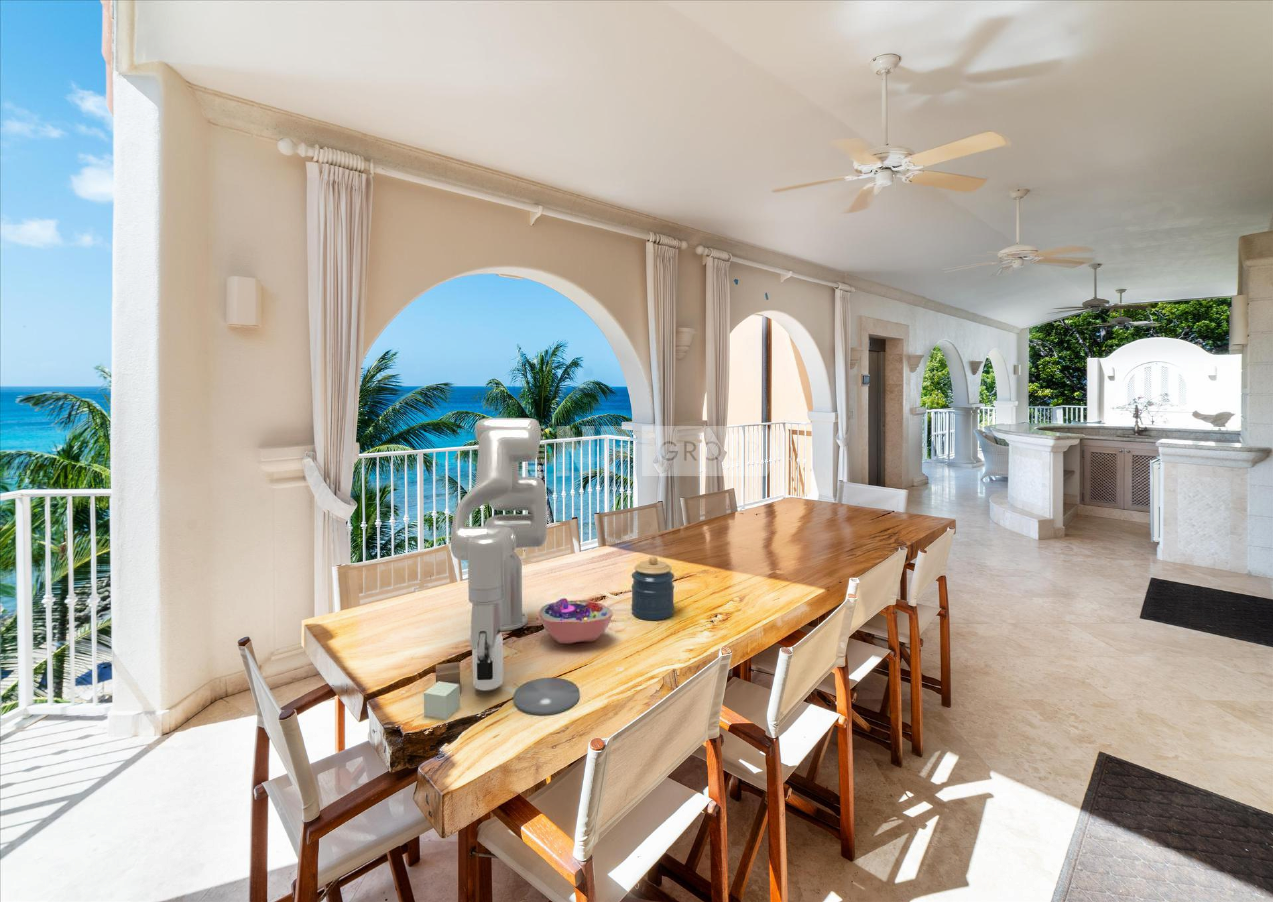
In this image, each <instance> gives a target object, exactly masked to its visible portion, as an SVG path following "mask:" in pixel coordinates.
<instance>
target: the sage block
mask: <svg viewBox="0 0 1273 902" xmlns="http://www.w3.org/2000/svg"><path fill="white" fill-rule="evenodd" d="M460 694H461V686H460V687H459V684H453V683H447V682H440V681H438V682H437V683H436V682H435V684H433V685H432V686H430V687H429V688H428V689H427V690H426V691H424V692H423V716H424V717H426V716H427V718H432V717H435V718H434V719H437V720H438V719H440V720H444V721H446V720H447V719H448V718H450V717H451V716H452V715H453V714H454V713H455V712H456V711H458V709H460V708H461V701H460V698H461V695H460Z"/></svg>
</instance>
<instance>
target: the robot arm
mask: <svg viewBox="0 0 1273 902" xmlns="http://www.w3.org/2000/svg"><path fill="white" fill-rule="evenodd" d="M474 435H475V438H476V440H477V442H478V448H477V449H478V451H477V461H476V462H477V463H476V464H477V465H476V473H475V474H476V478H475V485H474V486H473V487H472V488H471V489H470V490H469V491H467V493H466V494H465V495H464V496H463V497H462V499H461V500H460V501H459V502H458V504H457V505H456V508H455V511H454V513H453V516H452V517H453V518H452V524H451V534H450V551H451V554H452V556H453V557H454V558H455V559H456V560H460V561H467V583H468V588H467V589H468V591H467V592H468V593H467V594H468V602H469V603H470V604H472V605H471V613H470V614H471V615H470V618H471V619H470V649H471V651H472V650H474V649H476V647H477V645H478V653H477V679H478V680H491V679H492V678H493V661H491V651H492V648H493V647H494V646H495V642H496V637H497V634H498V631H499V629H500V632H505V631H507V632H508V631H513V630H518V629H520V628H522V627H524V626H526V624H528V622H529V617H528V615H527V614H525V613H524V612H523V570H522V569H523V564H522V560H521V557H520V556H519V555H518V553H517V552H516V551H515V550H516V549H524V548H525V549H526V548H531V549H532V548H539V547H542V546H544V545H545V543H546V541H547V534H548V533H547V532H548V528H547V525H548V524H547V523H548V522H547V491H546V485H545V482H544V480H542V478H540V477H535V476H520V473H519V472H520V470H519V469H520V467H519V466H520V465H519V463H521V462H522V463H524V462H527V463H529V462H533V461H535V460H536V459H537V457H538V454H539V451H540V443H541V437H542V430H541V426H540V423H539V421H538V420H537V419H536V418H528V417H488V418H483V419H482V418H481V419H480V420H478V421H477V422H476V423H475V425H474ZM488 503H489V506H490V507H491V508H492V509H493V510H496V511H502V512H503V511H528V513H527V514H525V513H523V514H517V513H515V514H514V513H513V514H510V513H509V514H496V515H492V516H490V517H489V518H487V519H486V521H485V522H484V526H466V525H467V521H468V519H469V517H470V516H471V515H472V513H473V512H474V511H475V510H478V508H480V507H481V506H484V505H486V504H488ZM486 644H489V647H485V646H486ZM485 650H488V655H487V654H485Z"/></svg>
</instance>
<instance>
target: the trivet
mask: <svg viewBox="0 0 1273 902" xmlns="http://www.w3.org/2000/svg"><path fill="white" fill-rule="evenodd" d="M579 699H580V689H579V687H578V685H577V684H576V683H574V682H573V681H571V680H568V679H566V678H561V677H542V678H541V677H539V678H535V679H532V680H530V681H527V682H525V683H523V684H521V685H520V686H518V687H517V688H516V689H515V691H514V693H513V704H514V706H515V708H516V709H517V710H519V711H520V712H522V713H525V714H528V715H532V716H550V715H551V716H553V715H557V714H560V713H563V712H566V711H567V710H570V709H571V708H573V707H574V706H575V705H577V703H578V701H579Z"/></svg>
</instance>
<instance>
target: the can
mask: <svg viewBox="0 0 1273 902" xmlns="http://www.w3.org/2000/svg"><path fill="white" fill-rule="evenodd" d="M503 641H504V640H503V635H502V633H501V631H500V629H499V631H498V634H497V637H496V642H495V646H494V647H493V648H492V651H491V661H493V678H492V679H491V680H478V679H477V653H478V645H477V647H476V649H474V650H472V649H471V652H472V653H471V654H472V684H473V687H474V688H475V689H476V690H478V691H482V692H483V691H484V692H486V691H487V692H488V691H494V690H496V689H498V688H499V687H501V685H502V684H503V683H504V642H503ZM485 647H489V644H486V646H485ZM485 654H487V655H488V650H485Z"/></svg>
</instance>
